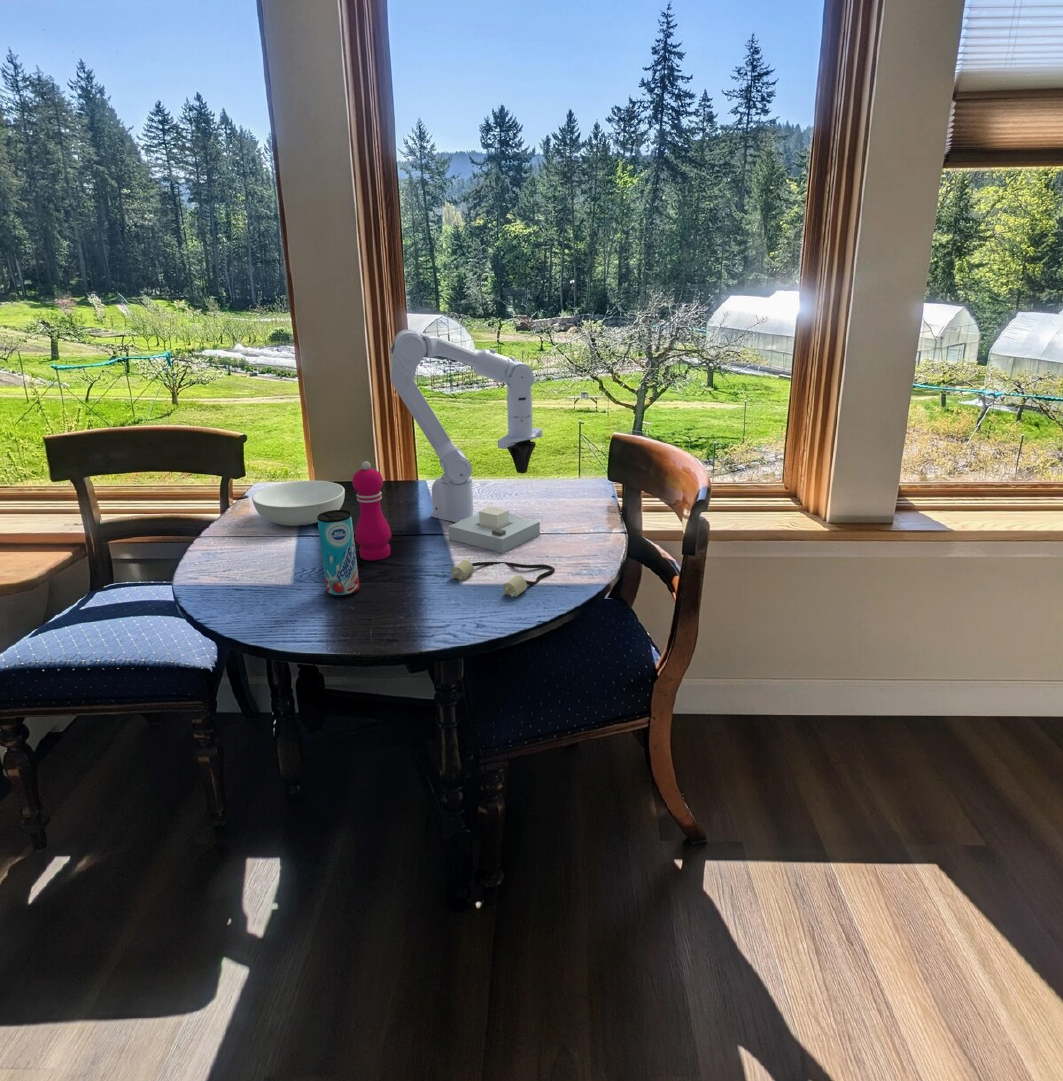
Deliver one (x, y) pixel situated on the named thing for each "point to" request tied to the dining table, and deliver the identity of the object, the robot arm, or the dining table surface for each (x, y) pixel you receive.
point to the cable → (510, 588)
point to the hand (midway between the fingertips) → (521, 472)
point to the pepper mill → (371, 515)
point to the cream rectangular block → (494, 518)
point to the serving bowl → (298, 501)
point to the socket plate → (494, 533)
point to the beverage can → (338, 553)
